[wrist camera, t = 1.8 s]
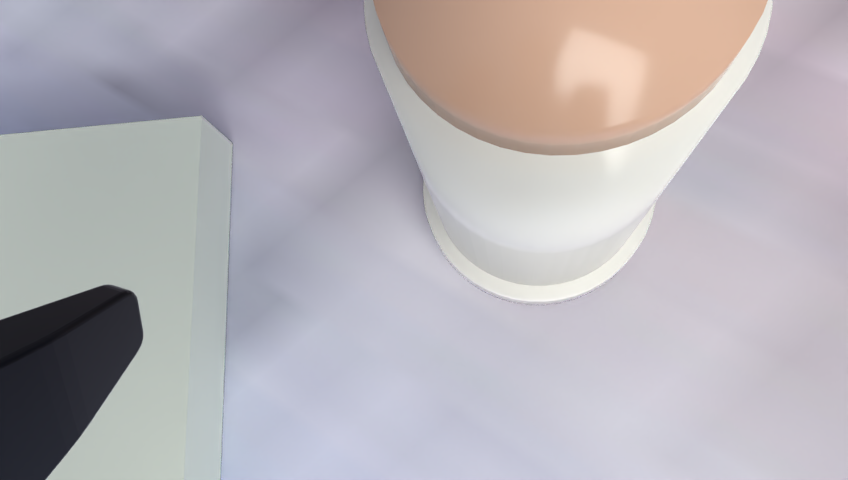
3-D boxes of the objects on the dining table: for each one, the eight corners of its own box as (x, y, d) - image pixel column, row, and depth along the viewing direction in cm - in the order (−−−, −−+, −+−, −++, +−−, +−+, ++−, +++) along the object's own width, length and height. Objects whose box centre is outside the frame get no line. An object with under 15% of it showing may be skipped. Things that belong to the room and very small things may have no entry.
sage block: (220, 482, 21) (183, 493, 19) (-52, 488, 23) (-120, 499, 20) (232, 143, 24) (201, 115, 22) (-10, 164, 25) (-65, 141, 23)
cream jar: (659, 298, 21) (880, 154, 8) (432, 311, 22) (324, 197, 9) (633, 89, 23) (783, -290, 10) (424, 108, 24) (324, -217, 11)
